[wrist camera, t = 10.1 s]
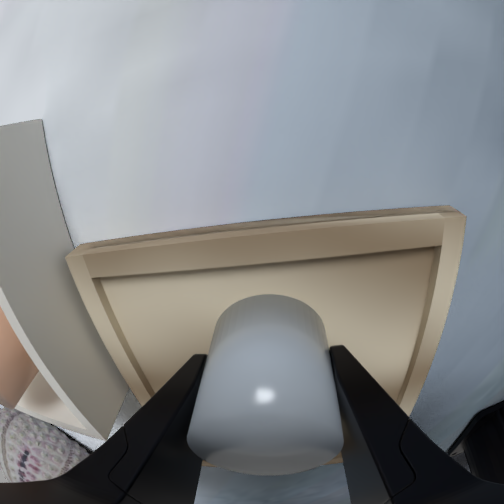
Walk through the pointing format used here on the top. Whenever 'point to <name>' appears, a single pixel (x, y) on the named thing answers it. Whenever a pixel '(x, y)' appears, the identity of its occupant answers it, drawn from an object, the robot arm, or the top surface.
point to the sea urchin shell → (34, 448)
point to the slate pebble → (267, 391)
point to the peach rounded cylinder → (13, 366)
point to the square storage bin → (49, 295)
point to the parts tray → (279, 289)
